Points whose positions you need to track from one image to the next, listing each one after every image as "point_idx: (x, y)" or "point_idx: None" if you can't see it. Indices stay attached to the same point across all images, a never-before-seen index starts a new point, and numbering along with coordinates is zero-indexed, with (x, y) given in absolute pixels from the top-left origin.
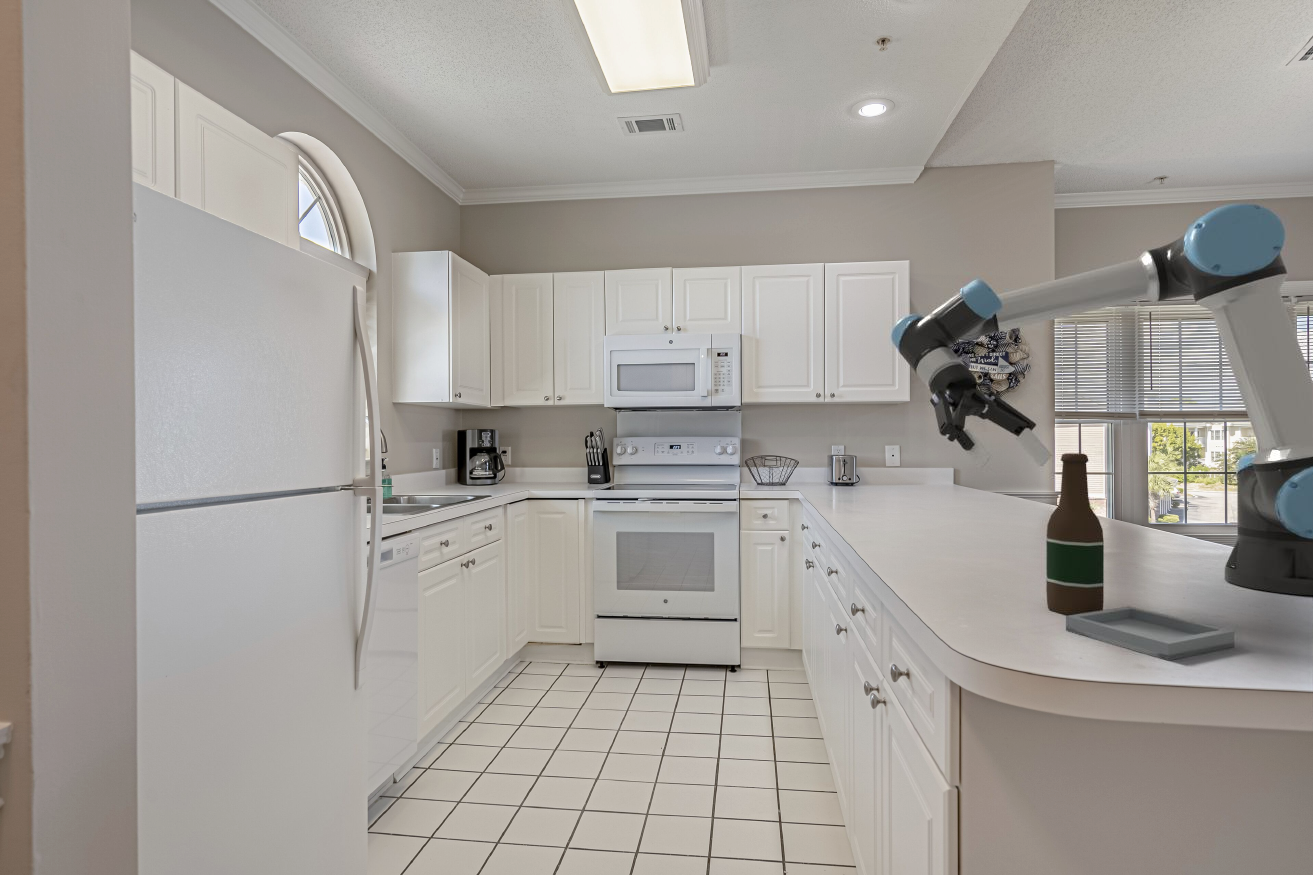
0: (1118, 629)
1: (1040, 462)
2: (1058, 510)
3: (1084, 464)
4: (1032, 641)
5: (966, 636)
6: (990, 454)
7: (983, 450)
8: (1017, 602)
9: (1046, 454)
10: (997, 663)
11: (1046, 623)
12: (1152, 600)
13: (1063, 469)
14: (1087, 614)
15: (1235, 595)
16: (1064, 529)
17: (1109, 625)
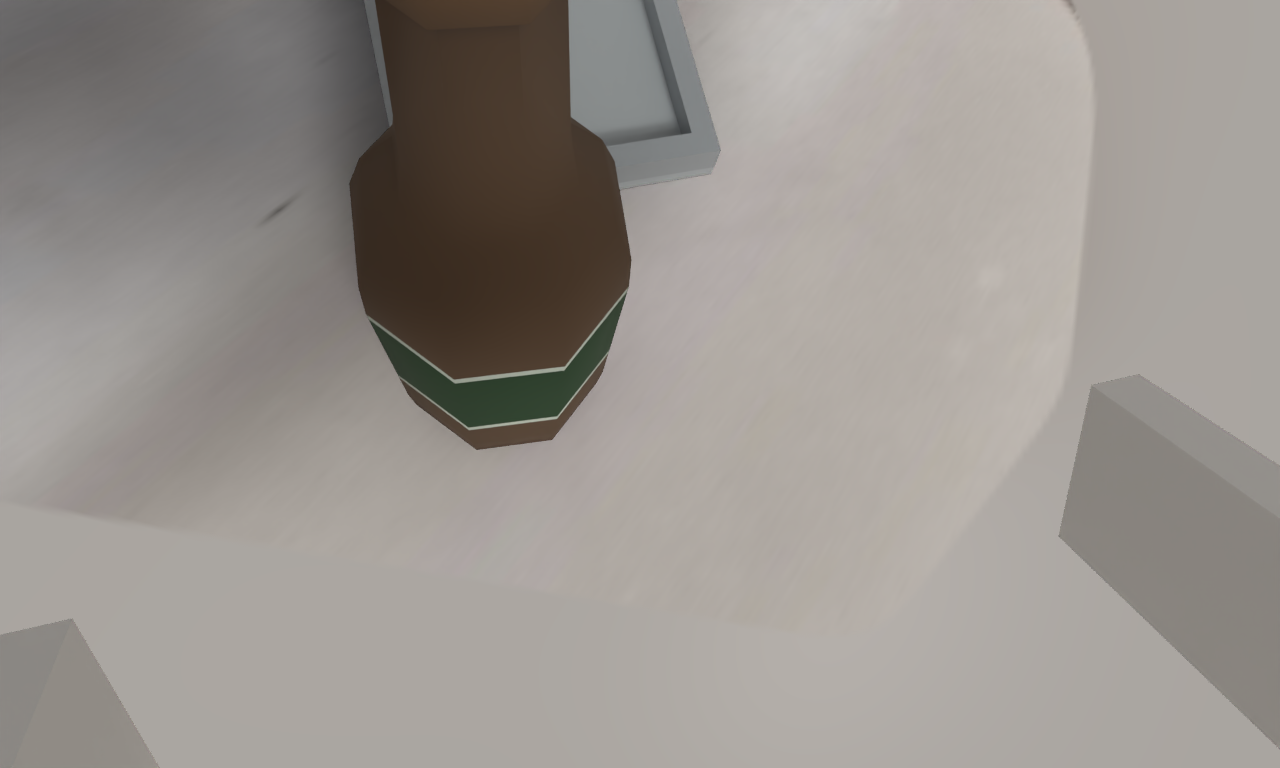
0: (672, 10)
1: (135, 764)
2: (593, 189)
3: None
4: (875, 114)
5: (1031, 187)
6: (1121, 404)
7: (1226, 435)
8: (632, 508)
9: (72, 671)
10: (1055, 4)
11: (717, 248)
12: (32, 439)
13: (568, 11)
14: (637, 150)
15: None
16: (614, 163)
17: (665, 45)
